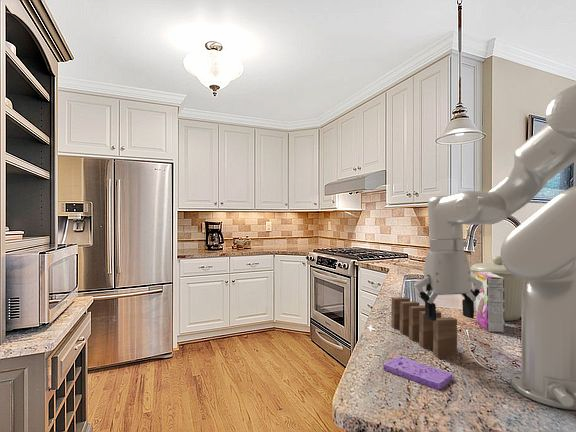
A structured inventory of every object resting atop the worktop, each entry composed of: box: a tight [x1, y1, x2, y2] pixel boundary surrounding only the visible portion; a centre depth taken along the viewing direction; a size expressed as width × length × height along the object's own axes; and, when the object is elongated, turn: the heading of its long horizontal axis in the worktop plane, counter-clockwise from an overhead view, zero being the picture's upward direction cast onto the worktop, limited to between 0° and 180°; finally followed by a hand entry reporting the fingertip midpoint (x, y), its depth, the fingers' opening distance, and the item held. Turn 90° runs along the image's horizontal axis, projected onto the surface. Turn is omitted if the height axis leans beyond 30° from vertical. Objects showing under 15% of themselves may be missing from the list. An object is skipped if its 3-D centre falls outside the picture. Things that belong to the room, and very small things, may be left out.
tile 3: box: [408, 305, 425, 342], centre depth 97 cm, size 2×5×9 cm, turn 99°
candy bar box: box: [475, 272, 506, 334], centre depth 109 cm, size 11×5×16 cm, turn 168°
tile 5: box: [390, 296, 411, 330], centre depth 108 cm, size 2×5×9 cm, turn 98°
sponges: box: [382, 355, 454, 390], centre depth 75 cm, size 7×13×2 cm, turn 43°
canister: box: [470, 255, 524, 322], centre depth 121 cm, size 18×18×21 cm
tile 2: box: [418, 310, 442, 349], centre depth 91 cm, size 2×5×9 cm, turn 99°
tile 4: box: [399, 300, 420, 336], centre depth 102 cm, size 2×5×9 cm, turn 99°
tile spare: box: [432, 316, 458, 359], centre depth 85 cm, size 2×5×9 cm, turn 99°
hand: (450, 318), depth 84 cm, fingers open, 9 cm apart
